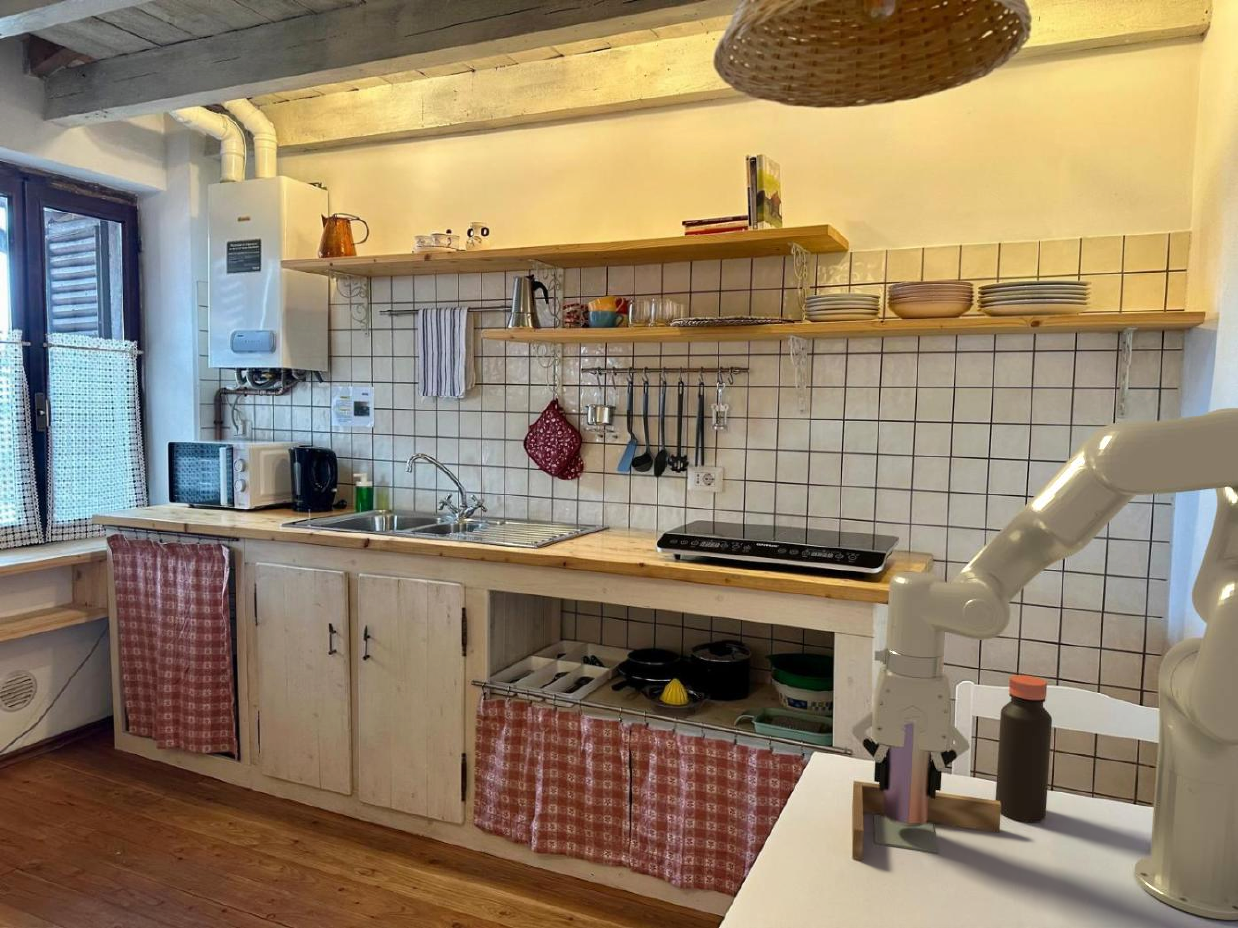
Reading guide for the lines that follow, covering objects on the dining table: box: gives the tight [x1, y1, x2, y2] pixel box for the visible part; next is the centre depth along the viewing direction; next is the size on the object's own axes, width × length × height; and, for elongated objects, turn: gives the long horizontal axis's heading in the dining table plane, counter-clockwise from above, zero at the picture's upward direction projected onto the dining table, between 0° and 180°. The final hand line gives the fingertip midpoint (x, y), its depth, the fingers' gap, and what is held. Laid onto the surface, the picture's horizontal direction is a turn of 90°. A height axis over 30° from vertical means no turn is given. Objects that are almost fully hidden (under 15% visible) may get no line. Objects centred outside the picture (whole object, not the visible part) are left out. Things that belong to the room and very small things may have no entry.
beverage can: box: [883, 719, 933, 827], centre depth 117 cm, size 6×6×15 cm
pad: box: [873, 814, 939, 854], centre depth 117 cm, size 8×8×1 cm
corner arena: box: [851, 780, 1002, 861], centre depth 115 cm, size 20×15×4 cm
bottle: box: [994, 674, 1053, 823], centre depth 124 cm, size 7×7×20 cm
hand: (906, 789), depth 117 cm, fingers closed on beverage can, 5 cm apart
